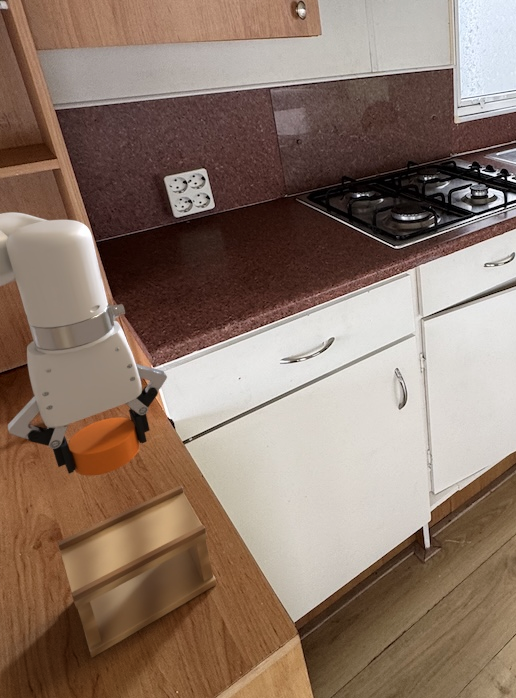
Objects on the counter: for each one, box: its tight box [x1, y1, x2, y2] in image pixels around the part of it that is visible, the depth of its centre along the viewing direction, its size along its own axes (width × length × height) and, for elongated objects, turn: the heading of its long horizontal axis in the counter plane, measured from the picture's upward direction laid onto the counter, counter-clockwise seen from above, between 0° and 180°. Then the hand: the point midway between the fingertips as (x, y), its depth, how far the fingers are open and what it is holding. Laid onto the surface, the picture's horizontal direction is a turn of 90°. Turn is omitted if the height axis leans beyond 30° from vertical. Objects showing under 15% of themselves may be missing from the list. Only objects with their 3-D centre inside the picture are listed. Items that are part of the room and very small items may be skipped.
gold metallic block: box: [57, 484, 218, 658], centre depth 74 cm, size 14×10×10 cm
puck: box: [67, 417, 141, 477], centre depth 72 cm, size 7×7×3 cm
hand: (106, 450), depth 73 cm, fingers closed on puck, 7 cm apart
